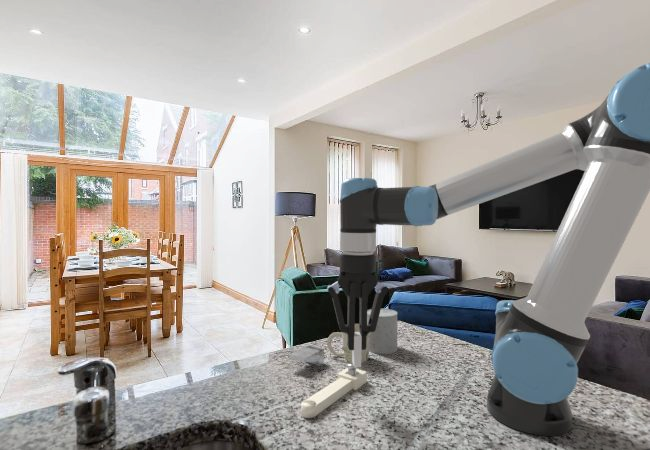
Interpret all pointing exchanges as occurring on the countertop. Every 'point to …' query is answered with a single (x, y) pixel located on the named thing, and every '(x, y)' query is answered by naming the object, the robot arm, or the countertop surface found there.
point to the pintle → (351, 369)
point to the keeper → (309, 355)
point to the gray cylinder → (384, 332)
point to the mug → (347, 352)
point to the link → (332, 392)
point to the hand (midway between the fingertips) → (356, 364)
